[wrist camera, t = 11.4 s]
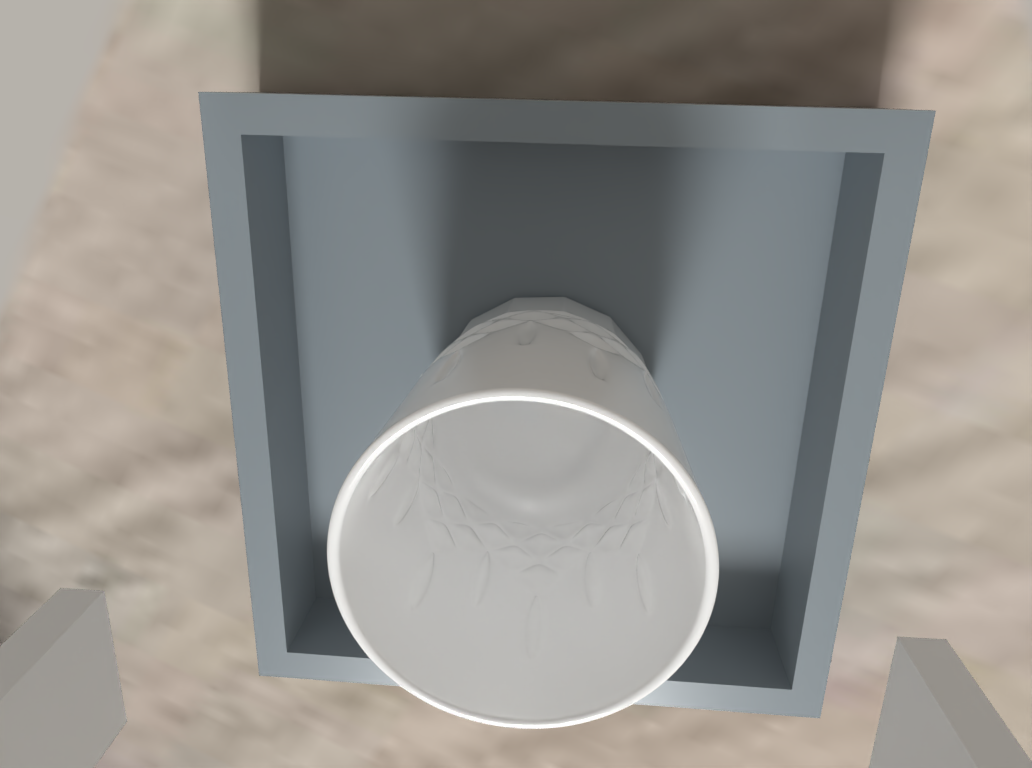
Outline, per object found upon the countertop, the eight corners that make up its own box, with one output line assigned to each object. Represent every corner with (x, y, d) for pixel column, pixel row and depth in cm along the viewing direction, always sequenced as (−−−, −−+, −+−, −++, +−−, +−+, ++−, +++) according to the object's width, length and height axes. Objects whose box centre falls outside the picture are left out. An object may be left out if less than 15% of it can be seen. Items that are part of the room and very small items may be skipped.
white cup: (566, 549, 27) (557, 788, 18) (373, 416, 26) (256, 597, 17) (722, 376, 25) (805, 548, 15) (516, 221, 24) (471, 305, 14)
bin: (299, 603, 30) (259, 675, 26) (258, 92, 24) (198, 91, 20) (789, 637, 29) (819, 718, 25) (877, 108, 23) (935, 110, 19)
